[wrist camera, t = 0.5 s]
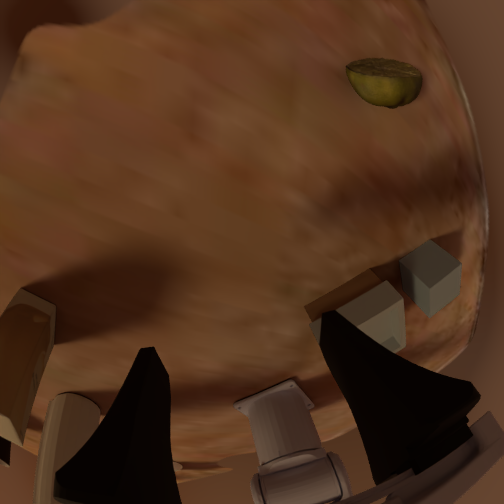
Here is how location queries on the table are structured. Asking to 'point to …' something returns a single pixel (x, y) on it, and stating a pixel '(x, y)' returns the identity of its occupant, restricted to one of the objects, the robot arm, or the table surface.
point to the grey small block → (430, 277)
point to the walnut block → (343, 294)
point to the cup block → (375, 316)
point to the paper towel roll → (62, 439)
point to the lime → (384, 81)
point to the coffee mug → (5, 451)
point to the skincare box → (23, 359)
